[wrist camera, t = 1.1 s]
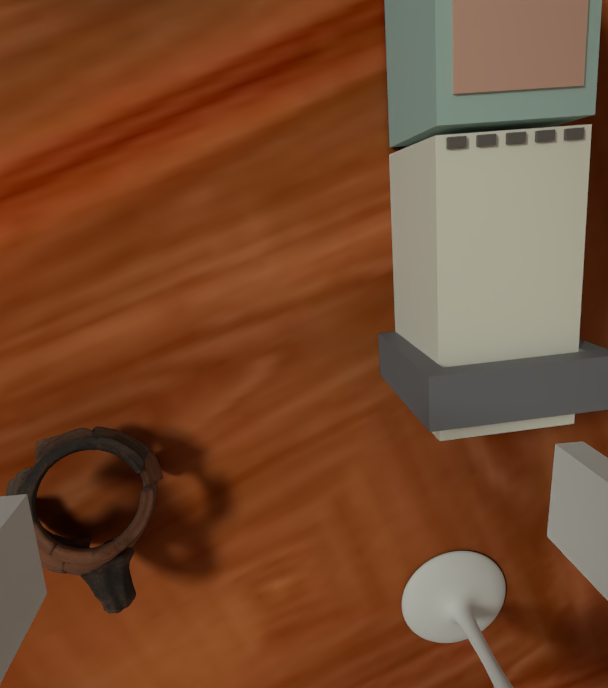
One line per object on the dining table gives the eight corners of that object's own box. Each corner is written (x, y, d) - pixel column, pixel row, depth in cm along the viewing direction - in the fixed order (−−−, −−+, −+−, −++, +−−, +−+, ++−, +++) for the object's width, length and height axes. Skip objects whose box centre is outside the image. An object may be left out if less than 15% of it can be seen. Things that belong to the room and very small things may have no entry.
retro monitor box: (383, -18, 29) (435, -103, 22) (515, -23, 30) (611, -108, 22) (389, 147, 32) (438, 125, 24) (511, 138, 32) (597, 113, 25)
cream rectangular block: (370, 156, 32) (423, 131, 22) (527, 144, 33) (642, 115, 23) (381, 394, 36) (430, 458, 27) (520, 378, 37) (615, 434, 27)
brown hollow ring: (-12, 468, 35) (-34, 472, 27) (121, 405, 39) (133, 394, 32) (67, 625, 35) (67, 671, 27) (191, 544, 39) (220, 566, 32)
